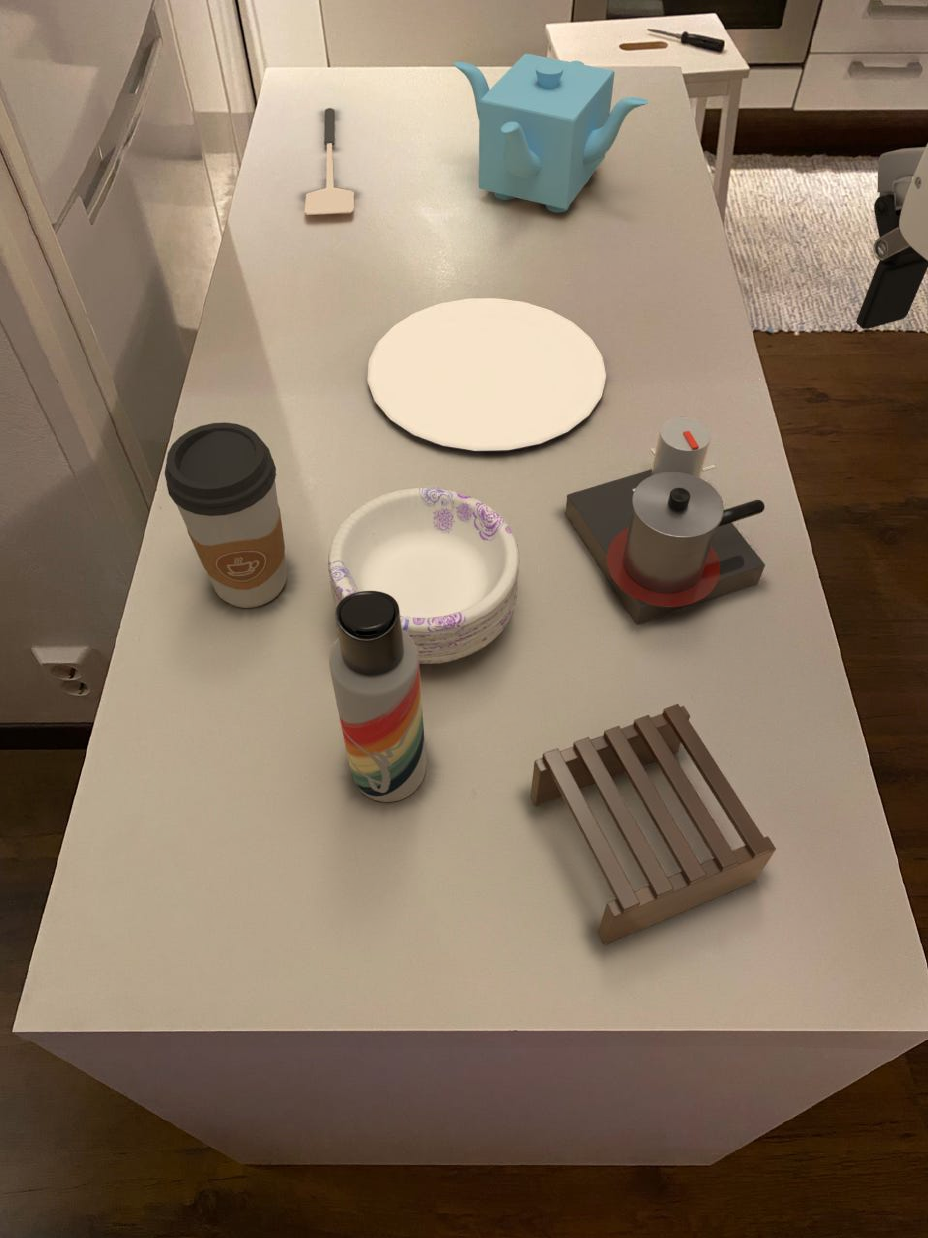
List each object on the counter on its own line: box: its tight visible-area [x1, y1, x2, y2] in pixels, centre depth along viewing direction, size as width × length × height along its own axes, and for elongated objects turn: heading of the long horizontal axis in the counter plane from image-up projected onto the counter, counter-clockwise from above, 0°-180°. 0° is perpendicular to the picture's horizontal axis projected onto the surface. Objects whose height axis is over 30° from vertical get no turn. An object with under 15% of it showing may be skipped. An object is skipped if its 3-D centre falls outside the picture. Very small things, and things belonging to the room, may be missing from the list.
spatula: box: [303, 107, 355, 216], centre depth 126 cm, size 6×29×2 cm, turn 5°
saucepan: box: [623, 472, 766, 593], centre depth 78 cm, size 7×13×8 cm, turn 112°
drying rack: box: [530, 703, 777, 946], centre depth 66 cm, size 12×12×6 cm
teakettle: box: [453, 52, 650, 213], centre depth 117 cm, size 19×19×15 cm
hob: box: [564, 447, 766, 626], centre depth 85 cm, size 14×16×3 cm
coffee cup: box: [164, 421, 288, 609], centre depth 77 cm, size 8×8×15 cm
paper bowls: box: [327, 487, 520, 665], centre depth 78 cm, size 15×15×8 cm
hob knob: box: [651, 416, 712, 478], centre depth 85 cm, size 4×4×6 cm
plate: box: [366, 297, 607, 453], centre depth 99 cm, size 25×25×1 cm
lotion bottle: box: [328, 591, 427, 803], centre depth 64 cm, size 6×6×20 cm
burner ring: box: [607, 527, 720, 607], centre depth 81 cm, size 10×10×1 cm
